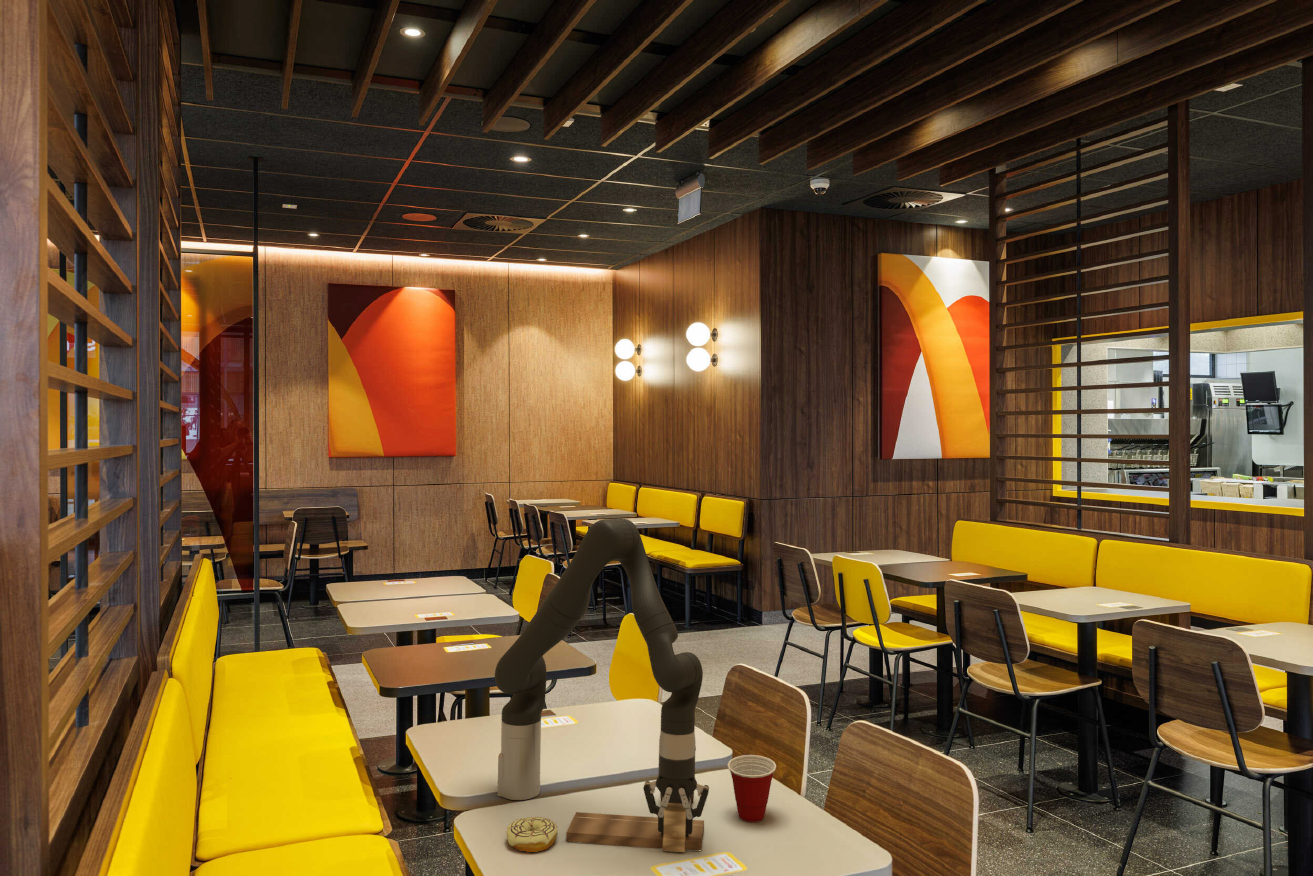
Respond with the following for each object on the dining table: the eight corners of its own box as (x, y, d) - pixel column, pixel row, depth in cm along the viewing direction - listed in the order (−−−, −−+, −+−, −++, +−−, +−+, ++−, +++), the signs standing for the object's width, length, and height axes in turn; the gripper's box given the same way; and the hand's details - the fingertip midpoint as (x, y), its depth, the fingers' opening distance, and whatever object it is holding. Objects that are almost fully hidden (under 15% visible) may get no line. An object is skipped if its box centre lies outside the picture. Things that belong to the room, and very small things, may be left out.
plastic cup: (718, 821, 195) (719, 766, 195) (737, 803, 205) (738, 751, 205) (765, 832, 190) (766, 776, 190) (782, 813, 200) (783, 760, 200)
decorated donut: (503, 855, 178) (503, 837, 178) (508, 831, 189) (509, 814, 189) (555, 854, 179) (556, 836, 179) (558, 831, 190) (558, 813, 190)
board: (566, 842, 184) (566, 832, 184) (575, 821, 194) (576, 812, 194) (701, 851, 181) (701, 841, 181) (703, 829, 191) (704, 820, 191)
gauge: (662, 850, 180) (663, 813, 180) (667, 830, 190) (668, 794, 190) (684, 852, 180) (685, 814, 180) (687, 831, 189) (688, 795, 189)
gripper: (640, 756, 180) (638, 840, 180) (710, 760, 178) (708, 845, 178) (644, 743, 187) (643, 824, 188) (712, 747, 186) (710, 829, 186)
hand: (675, 834), depth 183 cm, fingers closed on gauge, 4 cm apart
